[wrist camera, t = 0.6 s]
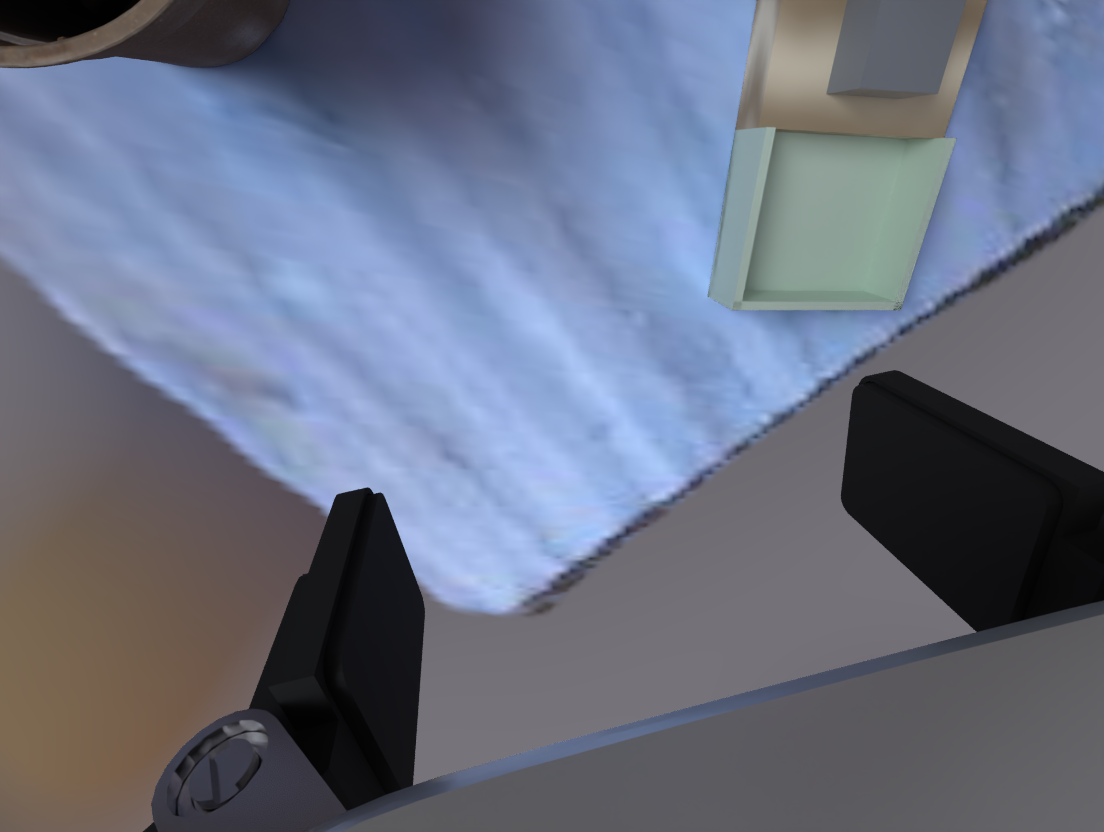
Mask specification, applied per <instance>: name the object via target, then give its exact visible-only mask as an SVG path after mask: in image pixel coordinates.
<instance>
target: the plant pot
mask: <svg viewBox="0 0 1104 832" xmlns="http://www.w3.org/2000/svg"><path fill="white" fill-rule="evenodd" d="M289 1H290V0H0V67H2V68H36V67H48V66H55V65H62V64H69V63H73V62H77V61H82V60H92V59H103V58H109V57H115V56H117V57H125V58H132V59H140V60H148V61H156V62H162V63H168V64H173V65H179V66H186V67H213V66H221V65H225V64H230V63H233V62H235V61H238V60H241V59H243V58H245V57H246V56H248V55H250V54H252V53H253V52H254V51H255V50H256V49H257V48H258V47H259V46H260V45H261V44H262V43H263V42H264V41H265V40H266V39H267V38H268V37H269V35H270V34H271V33H272V32H273V31H274V29H275V28H276V27H277V26H278V25H279V24H280V23H281V21H282V19H283V17H284V14H285V12H286V9H287V6H288V4H289Z"/></svg>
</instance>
